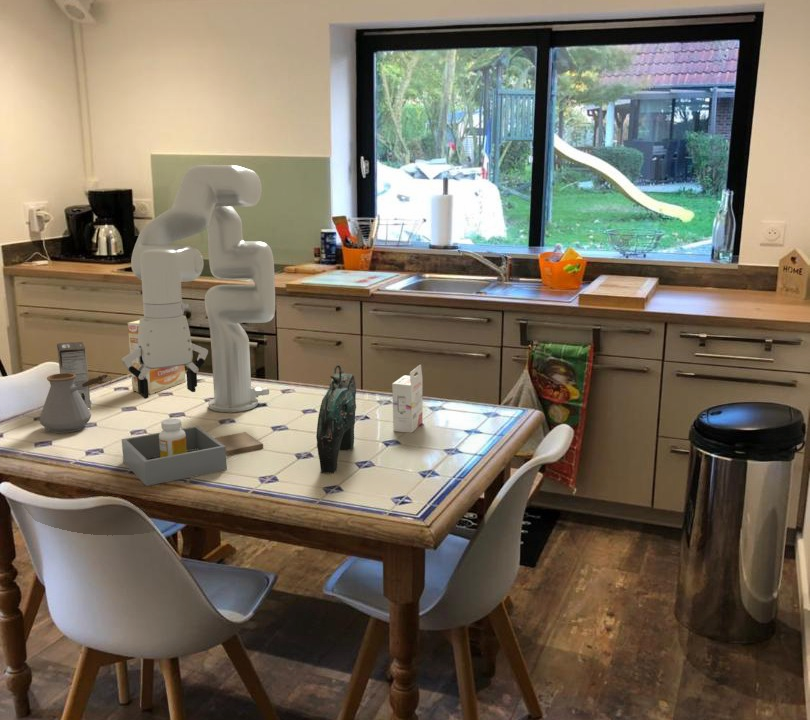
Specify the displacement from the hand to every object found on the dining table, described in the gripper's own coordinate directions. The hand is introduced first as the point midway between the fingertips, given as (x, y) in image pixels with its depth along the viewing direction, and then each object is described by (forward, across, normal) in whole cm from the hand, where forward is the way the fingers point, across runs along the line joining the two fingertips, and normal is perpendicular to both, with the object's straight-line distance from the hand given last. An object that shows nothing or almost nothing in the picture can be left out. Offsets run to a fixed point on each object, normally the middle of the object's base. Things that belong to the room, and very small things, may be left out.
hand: (168, 393), depth 173 cm
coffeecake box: (+15, -18, -66) cm, 70 cm away
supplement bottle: (+16, 0, -1) cm, 16 cm away
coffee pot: (+16, +10, -36) cm, 40 cm away
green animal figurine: (+16, -32, +14) cm, 38 cm away
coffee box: (+15, +6, -59) cm, 61 cm away
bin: (+16, 0, -1) cm, 16 cm away
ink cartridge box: (+15, -56, +4) cm, 58 cm away
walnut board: (+15, -16, -6) cm, 23 cm away
